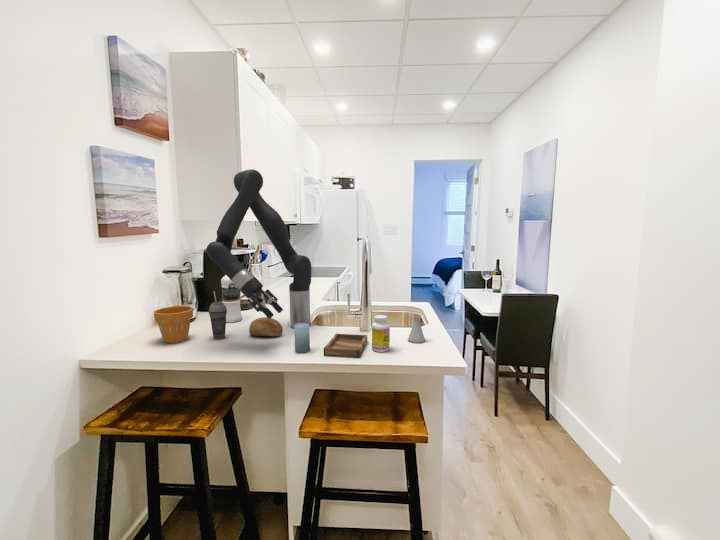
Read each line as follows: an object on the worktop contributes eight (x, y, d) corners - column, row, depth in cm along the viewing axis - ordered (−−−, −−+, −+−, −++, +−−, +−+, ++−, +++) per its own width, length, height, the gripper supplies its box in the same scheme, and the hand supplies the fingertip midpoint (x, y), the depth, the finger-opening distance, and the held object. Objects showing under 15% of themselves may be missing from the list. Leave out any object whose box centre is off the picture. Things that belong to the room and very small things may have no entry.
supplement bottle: (384, 353, 133) (384, 319, 131) (368, 350, 137) (368, 317, 135) (392, 348, 139) (392, 315, 137) (377, 345, 142) (377, 313, 141)
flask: (427, 339, 150) (428, 315, 148) (422, 344, 143) (423, 319, 142) (410, 337, 153) (410, 313, 151) (405, 342, 146) (405, 318, 145)
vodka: (241, 317, 186) (238, 259, 182) (242, 322, 177) (239, 261, 174) (222, 319, 183) (219, 259, 179) (222, 323, 174) (218, 261, 171)
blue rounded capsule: (298, 347, 140) (297, 322, 139) (311, 348, 139) (311, 323, 138) (292, 352, 135) (291, 326, 134) (307, 353, 134) (306, 327, 133)
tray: (336, 340, 149) (336, 333, 149) (367, 341, 147) (367, 335, 146) (323, 355, 131) (323, 348, 131) (358, 358, 129) (358, 350, 129)
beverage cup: (222, 340, 149) (219, 293, 146) (206, 339, 150) (203, 292, 148) (231, 335, 156) (229, 289, 154) (216, 334, 158) (214, 289, 155)
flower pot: (200, 339, 151) (198, 309, 149) (163, 348, 140) (161, 315, 139) (186, 332, 160) (184, 304, 159) (151, 340, 150) (148, 309, 148)
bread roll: (277, 340, 150) (276, 321, 149) (243, 338, 153) (243, 319, 152) (286, 333, 159) (285, 315, 158) (254, 331, 162) (254, 314, 161)
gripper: (244, 279, 130) (275, 312, 129) (262, 274, 144) (290, 303, 143) (231, 293, 132) (261, 325, 131) (250, 286, 146) (278, 316, 145)
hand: (276, 314), depth 137 cm, fingers open, 8 cm apart
